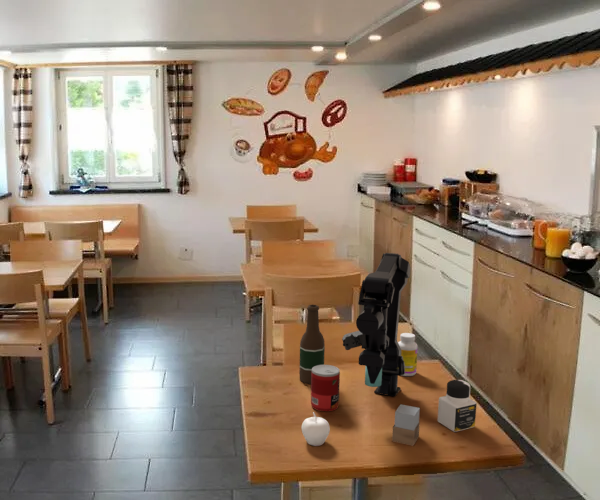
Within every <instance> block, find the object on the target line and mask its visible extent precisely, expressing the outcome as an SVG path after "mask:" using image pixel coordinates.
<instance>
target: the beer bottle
mask: <svg viewBox="0 0 600 500" xmlns="http://www.w3.org/2000/svg"><path fill="white" fill-rule="evenodd" d="M306 308H307V320H306V326H305V327H306V328H305V332H304V333H303V334H302V337H301V338H300V343H299V381H301V382H302V383H304V384H308V385H311V374H312V368H313V367H314V366H317V365H325V353H326V352H325V349H326V347H325V338H324V335H323V334H322V332H321V330H320V325H319V324H320V322H319V321H320V320H319V310H320V306H319V305H317V304H309V305H308V306H307V307H306Z"/></svg>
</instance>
